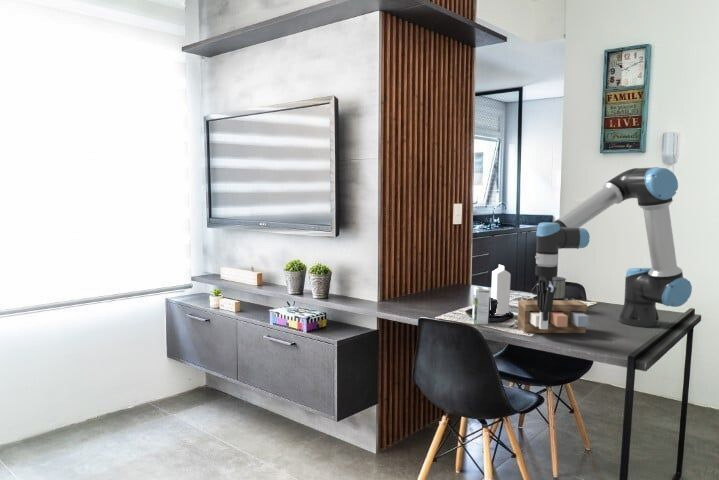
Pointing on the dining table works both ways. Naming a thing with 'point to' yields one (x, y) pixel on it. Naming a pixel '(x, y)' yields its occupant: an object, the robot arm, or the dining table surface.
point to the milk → (501, 289)
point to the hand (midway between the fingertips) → (543, 328)
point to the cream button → (534, 318)
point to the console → (558, 305)
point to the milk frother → (558, 288)
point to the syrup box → (480, 305)
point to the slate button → (579, 319)
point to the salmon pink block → (558, 319)
